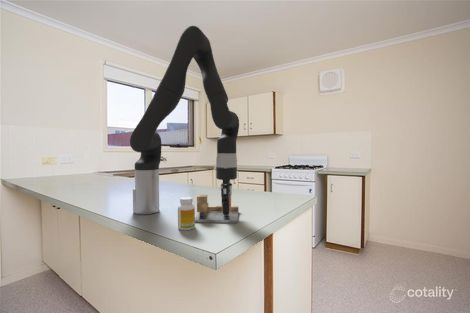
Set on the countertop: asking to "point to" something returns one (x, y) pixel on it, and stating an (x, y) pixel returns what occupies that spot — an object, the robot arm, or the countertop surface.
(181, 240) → the countertop surface
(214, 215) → the bolt plate
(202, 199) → the gauge rule
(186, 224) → the supplement bottle
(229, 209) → the block
